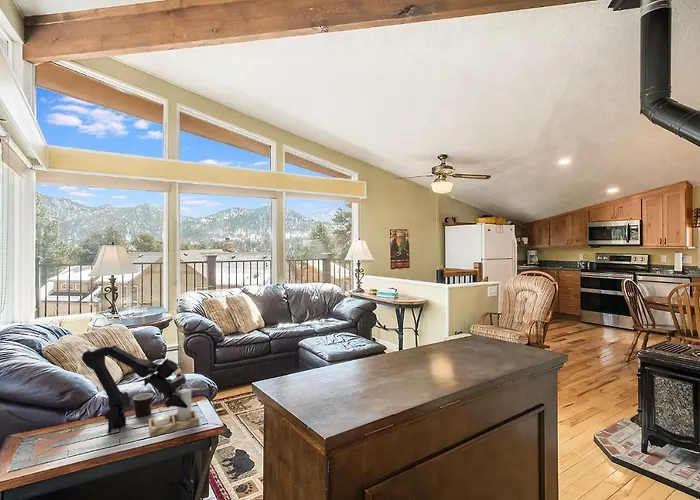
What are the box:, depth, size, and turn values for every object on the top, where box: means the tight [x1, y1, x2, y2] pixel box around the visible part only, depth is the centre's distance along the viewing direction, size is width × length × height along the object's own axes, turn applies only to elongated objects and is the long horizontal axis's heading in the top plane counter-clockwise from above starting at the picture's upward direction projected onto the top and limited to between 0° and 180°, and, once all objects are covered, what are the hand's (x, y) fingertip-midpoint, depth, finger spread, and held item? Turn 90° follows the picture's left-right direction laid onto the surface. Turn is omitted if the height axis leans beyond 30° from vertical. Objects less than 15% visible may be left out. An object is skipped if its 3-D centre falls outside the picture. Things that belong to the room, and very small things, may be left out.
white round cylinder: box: [154, 414, 170, 427], centre depth 177 cm, size 6×6×4 cm
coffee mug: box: [132, 392, 154, 419], centre depth 191 cm, size 12×9×10 cm
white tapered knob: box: [176, 388, 192, 422], centre depth 181 cm, size 6×6×13 cm
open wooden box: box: [148, 410, 199, 436], centre depth 179 cm, size 20×11×4 cm, turn 119°
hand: (187, 404), depth 182 cm, fingers closed on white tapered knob, 6 cm apart
